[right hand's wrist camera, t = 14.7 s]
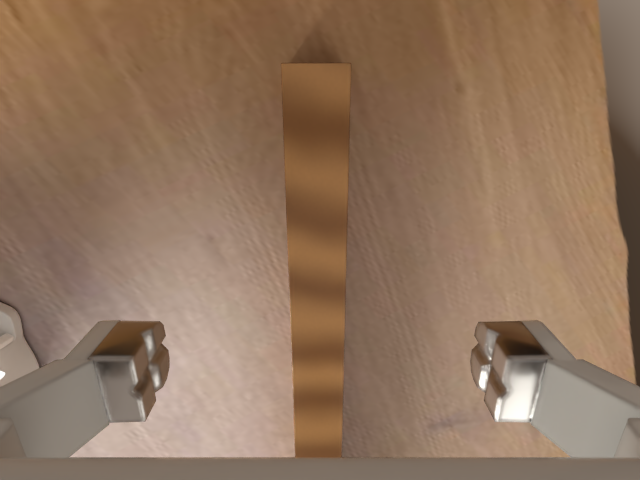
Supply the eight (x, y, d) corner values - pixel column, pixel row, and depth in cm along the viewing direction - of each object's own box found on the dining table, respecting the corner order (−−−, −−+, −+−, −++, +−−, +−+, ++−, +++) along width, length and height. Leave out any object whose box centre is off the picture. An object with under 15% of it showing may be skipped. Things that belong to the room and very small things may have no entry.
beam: (287, 65, 32) (280, 63, 26) (345, 65, 32) (351, 62, 26) (303, 596, 58) (302, 649, 53) (335, 595, 58) (337, 649, 53)
